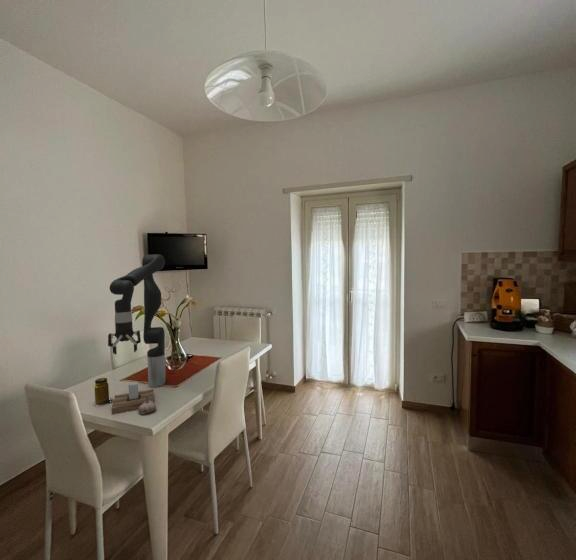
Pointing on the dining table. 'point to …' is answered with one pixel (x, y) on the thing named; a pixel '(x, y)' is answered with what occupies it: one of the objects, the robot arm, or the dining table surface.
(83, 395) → the dining table surface
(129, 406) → the board
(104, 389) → the condiment
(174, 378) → the dining table surface
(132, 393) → the peg
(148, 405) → the garlic bulb
